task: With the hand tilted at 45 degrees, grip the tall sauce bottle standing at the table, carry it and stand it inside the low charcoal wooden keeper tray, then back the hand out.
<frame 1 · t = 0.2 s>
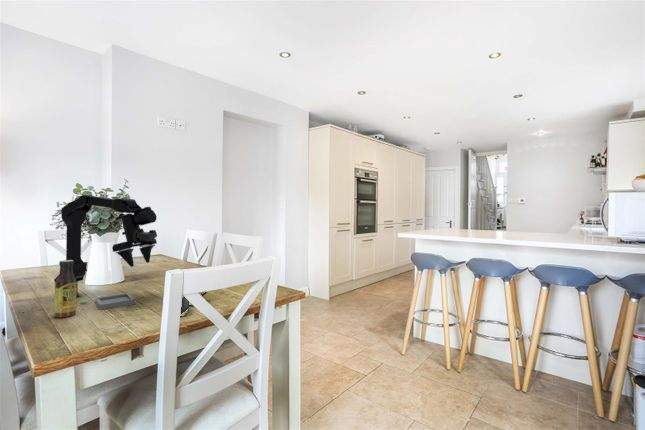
hand: (140, 264, 132), 16 cm above the table, tool pointing down, fingers open, 9 cm apart
keeper tray: (115, 303, 129), on the table
sauce bottle: (65, 315, 114), on the table
mug: (194, 303, 132), on the table
flask: (183, 313, 119), on the table
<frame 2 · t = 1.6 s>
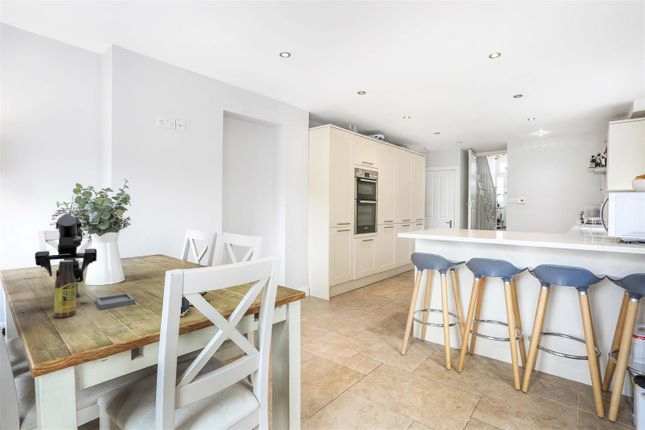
hand: (66, 274, 120), 13 cm above the table, tool tilted 45°, fingers open, 9 cm apart
nothing on the table moved.
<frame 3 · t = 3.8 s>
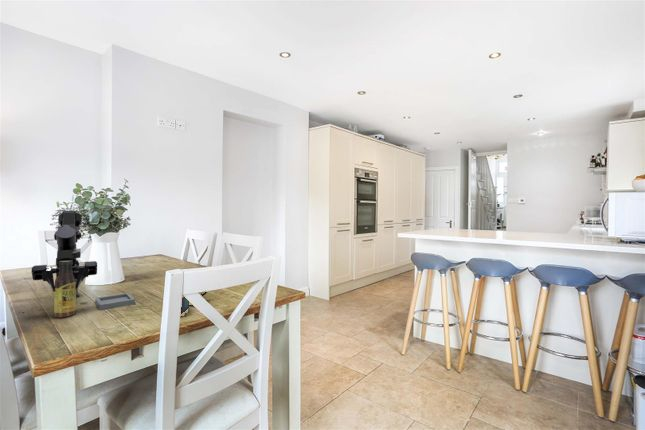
hand: (65, 289, 113), 10 cm above the table, tool tilted 45°, fingers closed on sauce bottle, 6 cm apart
sauce bottle: (65, 315, 114), on the table, touching gripper
everything else where it was.
when the fingers open (12 cm above the table, at t = 7.8 s): sauce bottle drops 1 cm, resting on keeper tray.
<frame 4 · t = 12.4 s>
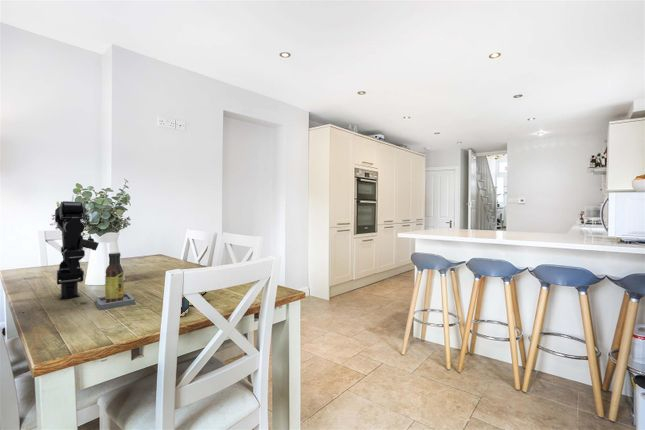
hand: (72, 272, 126), 13 cm above the table, tool pointing down, fingers open, 9 cm apart
sauce bottle: (114, 301, 129), point 1 cm above the table, touching keeper tray
everything else where it was.
at the end: sauce bottle 0.2 cm off-centre on the keeper tray, point 0.6 cm above the keeper tray's base; sauce bottle tilted 0°; the gripper is holding nothing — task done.
